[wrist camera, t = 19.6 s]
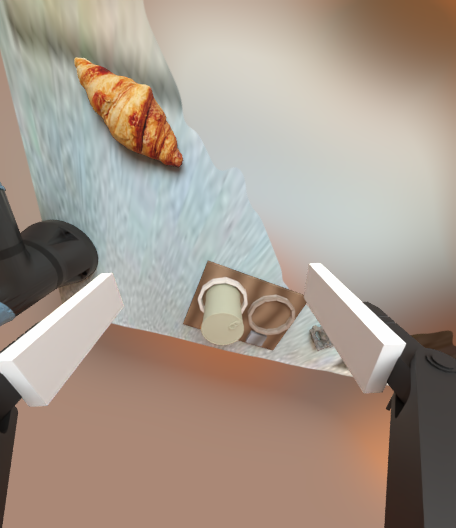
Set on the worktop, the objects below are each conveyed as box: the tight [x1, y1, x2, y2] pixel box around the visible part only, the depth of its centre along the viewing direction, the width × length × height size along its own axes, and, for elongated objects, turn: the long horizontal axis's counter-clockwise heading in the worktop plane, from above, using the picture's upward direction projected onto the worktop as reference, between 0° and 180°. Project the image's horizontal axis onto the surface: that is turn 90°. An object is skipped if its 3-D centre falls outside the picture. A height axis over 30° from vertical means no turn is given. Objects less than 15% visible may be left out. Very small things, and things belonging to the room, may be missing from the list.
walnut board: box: [183, 261, 307, 350], centre depth 52 cm, size 29×21×2 cm
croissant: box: [75, 58, 183, 167], centre depth 33 cm, size 21×10×8 cm, turn 48°
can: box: [201, 283, 244, 345], centre depth 45 cm, size 9×9×12 cm
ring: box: [198, 277, 248, 329], centre depth 51 cm, size 13×18×2 cm
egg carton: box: [310, 325, 334, 351], centre depth 56 cm, size 11×8×4 cm
